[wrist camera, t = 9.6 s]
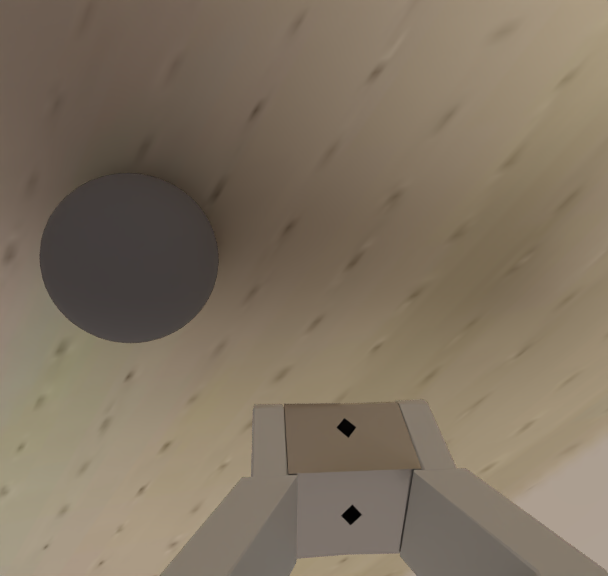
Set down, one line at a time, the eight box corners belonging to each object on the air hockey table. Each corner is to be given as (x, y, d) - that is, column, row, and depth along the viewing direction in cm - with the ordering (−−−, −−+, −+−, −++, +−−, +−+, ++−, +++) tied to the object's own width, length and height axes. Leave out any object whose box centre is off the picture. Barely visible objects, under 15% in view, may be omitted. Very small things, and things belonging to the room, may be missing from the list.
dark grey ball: (200, 382, 14) (238, 297, 19) (181, 206, 12) (228, 157, 16) (26, 372, 14) (103, 291, 19) (-25, 199, 12) (76, 154, 17)
